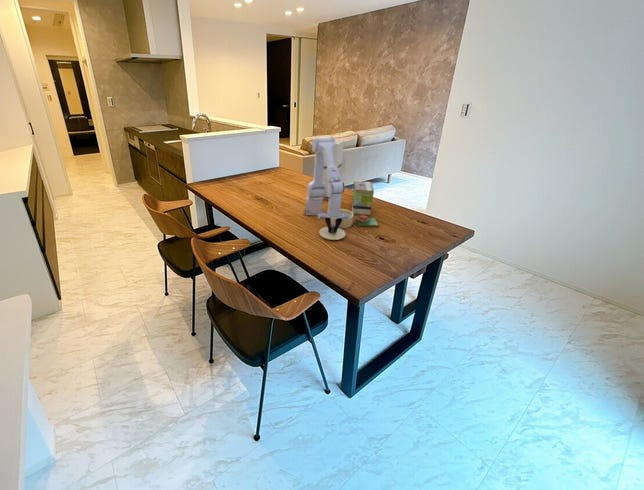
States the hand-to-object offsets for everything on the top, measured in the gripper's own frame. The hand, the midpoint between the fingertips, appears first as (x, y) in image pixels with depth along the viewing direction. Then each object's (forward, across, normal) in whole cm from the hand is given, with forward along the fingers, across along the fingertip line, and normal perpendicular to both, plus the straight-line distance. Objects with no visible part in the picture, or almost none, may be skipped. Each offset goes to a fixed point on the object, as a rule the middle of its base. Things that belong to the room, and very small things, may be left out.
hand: (332, 231), depth 143 cm
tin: (+2, +6, +14) cm, 15 cm away
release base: (+2, +19, +14) cm, 23 cm away
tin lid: (+1, 0, 0) cm, 1 cm away
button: (-1, +17, +13) cm, 22 cm away
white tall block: (+2, +2, +50) cm, 51 cm away
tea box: (+2, +19, +32) cm, 37 cm away
